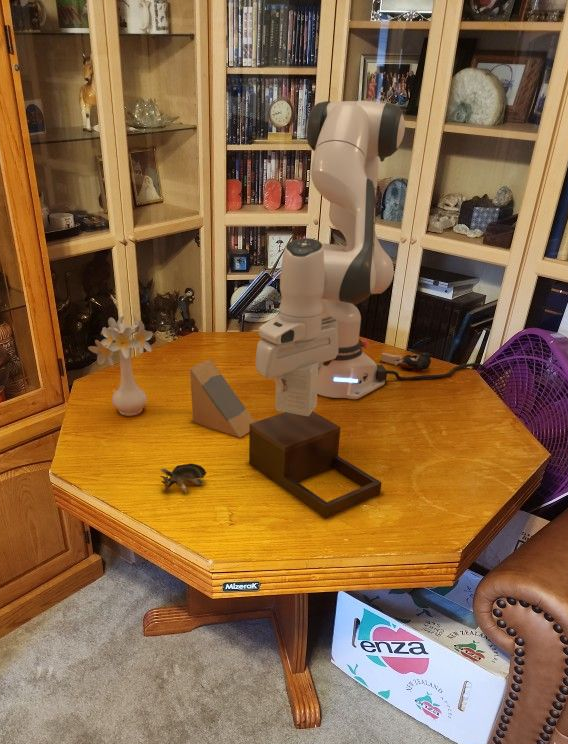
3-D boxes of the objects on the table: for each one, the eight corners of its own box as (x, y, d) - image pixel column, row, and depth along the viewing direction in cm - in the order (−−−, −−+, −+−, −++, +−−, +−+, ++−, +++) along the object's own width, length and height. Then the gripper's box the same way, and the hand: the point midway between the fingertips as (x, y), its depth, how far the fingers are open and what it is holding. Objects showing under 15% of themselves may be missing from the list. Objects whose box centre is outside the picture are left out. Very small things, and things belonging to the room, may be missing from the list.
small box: (316, 406, 148) (319, 362, 142) (308, 417, 144) (311, 372, 138) (283, 400, 151) (284, 356, 145) (274, 410, 146) (275, 365, 140)
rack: (301, 444, 164) (303, 405, 158) (380, 493, 145) (386, 452, 140) (248, 463, 156) (249, 424, 150) (325, 518, 138) (329, 475, 132)
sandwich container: (240, 438, 166) (240, 382, 158) (191, 422, 173) (189, 368, 165) (259, 425, 172) (259, 370, 163) (211, 410, 179) (210, 357, 170)
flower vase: (92, 424, 172) (79, 330, 158) (123, 394, 186) (114, 306, 172) (138, 431, 169) (129, 336, 155) (166, 401, 183) (160, 311, 169)
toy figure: (377, 368, 204) (427, 374, 198) (379, 347, 201) (429, 353, 196) (383, 362, 210) (431, 368, 204) (385, 342, 207) (434, 348, 201)
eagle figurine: (175, 500, 141) (211, 482, 144) (160, 469, 140) (198, 452, 143) (167, 500, 148) (202, 483, 151) (153, 471, 147) (189, 454, 150)
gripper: (327, 310, 143) (323, 370, 151) (251, 329, 134) (251, 392, 141) (347, 318, 139) (342, 379, 147) (270, 338, 129) (269, 403, 137)
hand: (296, 386), depth 144 cm, fingers closed on small box, 7 cm apart
